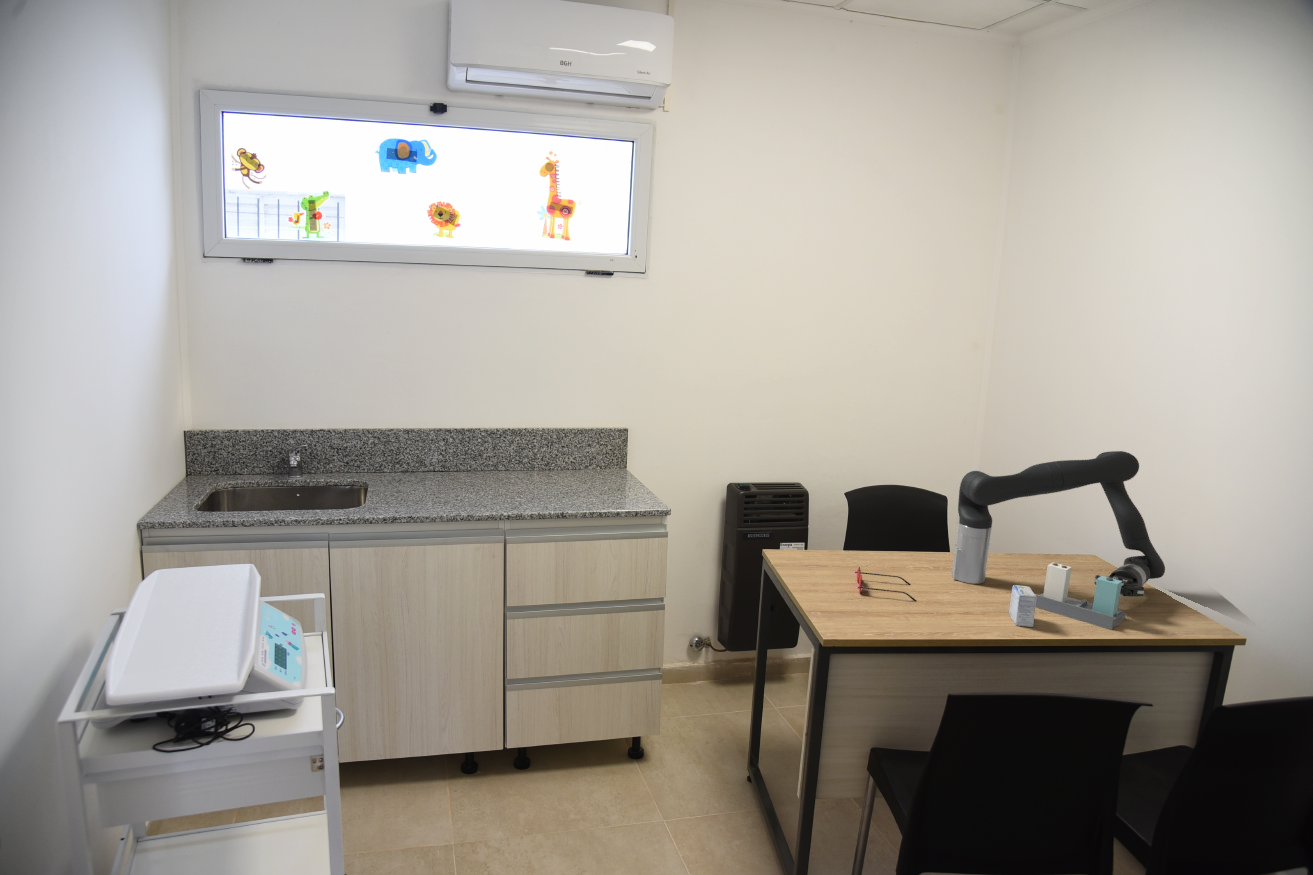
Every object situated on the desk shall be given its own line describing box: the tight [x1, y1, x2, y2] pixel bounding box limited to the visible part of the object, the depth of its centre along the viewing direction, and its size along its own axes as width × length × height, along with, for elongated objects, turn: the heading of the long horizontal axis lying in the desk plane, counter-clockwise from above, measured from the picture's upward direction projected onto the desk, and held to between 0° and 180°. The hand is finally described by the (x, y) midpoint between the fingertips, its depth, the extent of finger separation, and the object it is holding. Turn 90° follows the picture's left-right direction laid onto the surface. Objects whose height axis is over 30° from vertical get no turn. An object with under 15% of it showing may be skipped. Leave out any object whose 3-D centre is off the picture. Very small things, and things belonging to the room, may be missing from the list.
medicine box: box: [1008, 584, 1037, 628], centre depth 212 cm, size 8×4×9 cm, turn 168°
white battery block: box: [1043, 562, 1072, 602], centre depth 224 cm, size 4×5×10 cm
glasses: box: [854, 566, 918, 602], centre depth 231 cm, size 14×16×5 cm
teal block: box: [1092, 575, 1122, 617], centre depth 214 cm, size 4×5×10 cm
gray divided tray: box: [1034, 592, 1127, 631], centre depth 220 cm, size 12×20×4 cm, turn 45°
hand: (1109, 592), depth 216 cm, fingers closed
